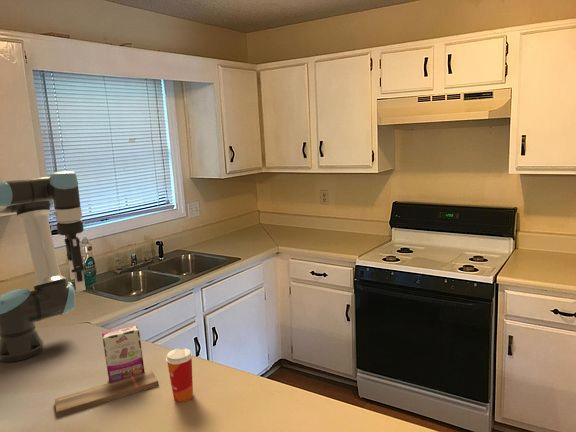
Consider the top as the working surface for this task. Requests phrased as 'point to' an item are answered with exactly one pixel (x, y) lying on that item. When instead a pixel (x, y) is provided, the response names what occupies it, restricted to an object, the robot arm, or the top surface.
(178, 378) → the paper cup
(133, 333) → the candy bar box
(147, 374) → the walnut board
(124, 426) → the top surface
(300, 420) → the top surface
